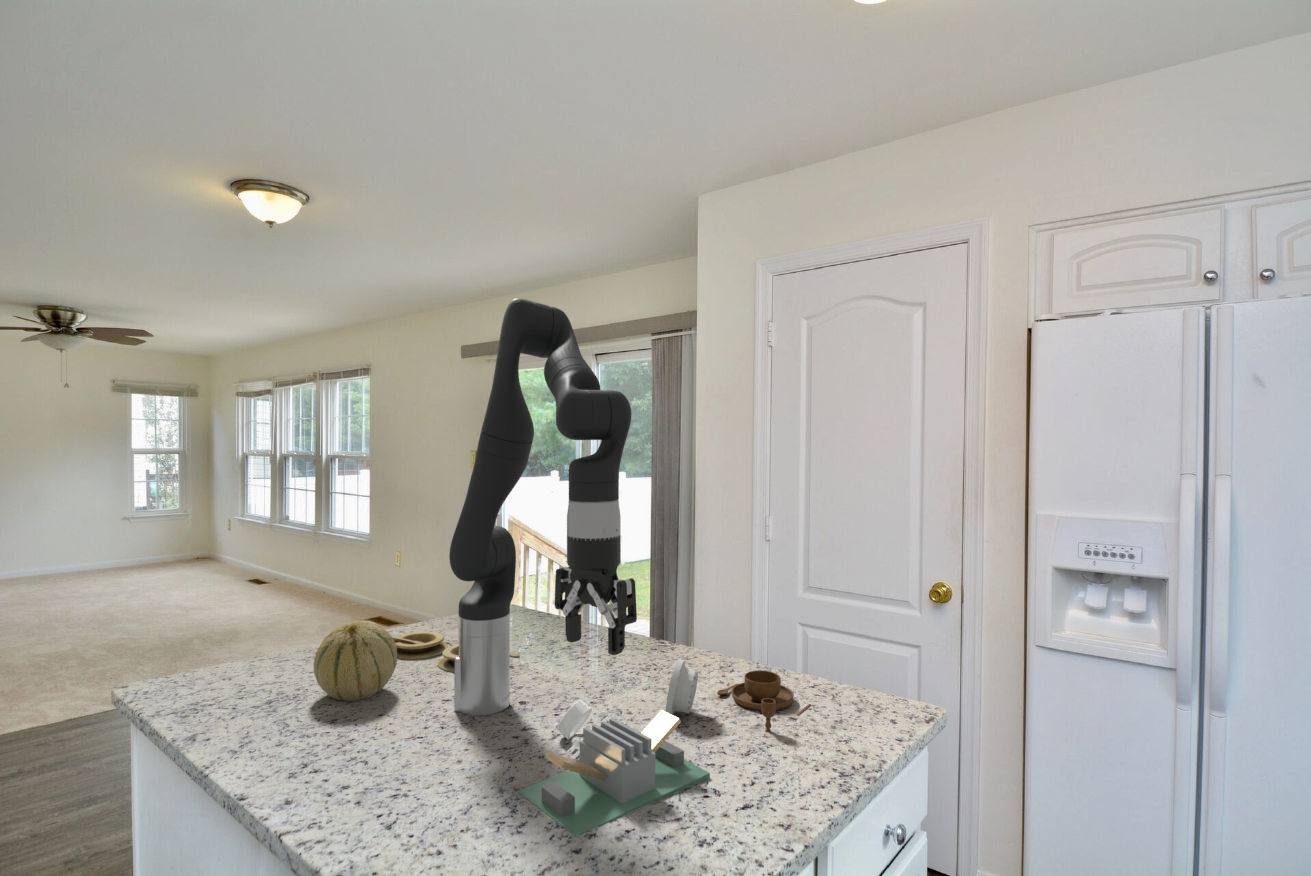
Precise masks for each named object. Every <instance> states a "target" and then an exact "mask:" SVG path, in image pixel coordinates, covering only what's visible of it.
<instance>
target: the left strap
mask: <svg viewBox="0 0 1311 876" xmlns="http://www.w3.org/2000/svg"><path fill="white" fill-rule="evenodd" d="M544 757H545V758H546V759H548V760H549V761H551V762H552V763H553V764H555V765H556V766H558V767H559V768H560V769H563V770H566V771H573V772H576V773H580V774H583V775H586V776H590V777H593V778H597V779H600V780H603V781H604V778H605V776H606V774H604V773H603V772H601V771H599V770H598V769H596V768H595V767H593V766H592V765H590V764H588V763H585V762H581V761H579V759H572V758H570V757H569V756H565V755H562V754H559V753H555V752H552V751H548V750H547V752H546V754H545V756H544Z"/></svg>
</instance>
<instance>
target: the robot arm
mask: <svg viewBox="0 0 1311 876" xmlns="http://www.w3.org/2000/svg"><path fill="white" fill-rule="evenodd" d="M500 329H501V330H500V333H499V334H500V335H499V341H498V348H497V355H496V360H495V368H494V373H493V379H492V383H491V384H492V385H491V390H490V395H489V399H488V402H487V407H486V410H485V413H484V419H483V423H482V427H481V430H480V435H479V438H478V442H477V447H476V453H475V460H474V462H473V468H472V472H471V475H470V478H469V479H470V480H469V484H468V488H467V490H466V491H467V493H466V496H465V500H464V503H463V506H462V509H461V512H460V515H459V518H458V520H457V524H456V527H455V530H454V533H453V534H452V535H453V536H452V539H451V541H450V547H449V555H448V556H449V564H450V568H451V571H452V573H453V574H454V576H455V577H456V578H458V580H461V581H463V582H473V584H472V585H471V587H470V589H469V590H468V592H466V593H465V594H464V595H463V596H462V597H461V598H460V600H459V602H458V642H459V656H458V657H457V658H456V659H455V665H454V666H455V672H454V701H453V702H454V705H453V706H454V707H453V708H454V709H453V710H454V711H455V712H459V713H463V714H464V715H469V716H489V715H490V716H491V715H494V714H498V713H500V712H503V711H504V710H506V709H507V708H508V707H510V706H509V705H510V695H511V693H510V685H511V684H510V676H511V675H510V673H511V671H510V670H511V669H510V668H511V666H510V664H511V663H510V662H511V661H510V660H511V657H510V653H511V650H510V648H511V647H510V646H511V642H510V641H511V640H510V639H511V638H510V637H511V633H510V631H511V630H510V629H511V628H510V626H511V623H510V622H511V619H510V618H511V614H510V613H511V604H512V601H513V598H514V595H515V587H516V585H515V584H516V568H517V566H516V565H517V563H516V562H517V551H516V545H515V540H514V538H513V536H512V534H511V533H510V531H509V530H507V528H505V527H503V526H500V525H496V521H497V518H498V515H499V513H500V510H501V509H502V506H503V504H504V503H505V501H506V499H508V496H509V495H511V492H512V491H513V489H514V488H515V486H516V485H517V483H518V482H519V481H520V480H521V479H520V478H521V477H522V476H523V473H524V472H525V470H526V468H527V465H528V462H529V458H530V454H531V451H532V450H531V449H532V446H533V441H534V436H535V426H534V423H533V419H532V415H531V412H530V410H529V407H528V405H527V401H526V399H525V396H524V394H523V391H522V387H521V383H520V377H519V376H520V374H519V372H520V371H519V370H520V369H519V364H520V358H521V354H522V355H528V356H532V357H536V358H537V357H538V358H542V359H546V362H545V363H544V368H543V369H544V370H543V376H544V380H545V383H546V385H547V387H548V389H549V391H550V392H551V394H552V396H553V398H554V400H555V424H556V428H557V429H558V432H559V433H560V434H561V435H562V436H563V437H565V438H566V439H569V440H574V441H600V444H599V446H598V448H597V450H596V452H594V453H593V454H591V455H586V456H583V457H579V458H575V459H573V460H572V461H571V462H570V463H569V467H568V505H567V513H566V564H567V566H565V567H560V568H557V569H556V570H555V577H554V578H555V582H554V584H555V585H554V608H555V610H560V611H562V614H563V616H565V620H564V621H565V626H564V627H565V638H566V642H569V643H572V644H573V643H576V642H579V641H581V638H582V614H580V612H581V611H582V609H583V607H584V606H585V605H588V604H589V605H590V606H592V607H594V608H597V609H598V611H599V613H600V614H601V615H603V616H604V619H605V620H606V622H607V624H608V626H609V627H607V629H608V630H607V641H608V642H607V643H608V644H607V646H608V647H607V648H608V649H607V653H608V654H609V655H612V656H616V655H619V654H621V653H623V651H624V649H625V646H626V640H625V638H626V631H625V630H626V629H625V628H626V626H627V625H631V624H633V623H636V622H637V620H638V616H637V614H638V613H637V592H636V580H635V579H634V578H633V577H632V578H626V579H621V578H619V577H618V573H617V570H618V567H619V566H620V565H621V563H622V562H621V561H622V560H621V559H622V558H621V557H622V556H621V552H622V551H621V550H622V549H621V546H622V545H621V539H622V538H621V537H622V535H621V527H622V526H621V518H622V517H621V510H620V509H621V508H620V503H619V502H620V501H619V499H620V497H619V496H620V489H619V487H620V486H619V485H620V484H619V483H620V481H619V478H620V474H619V472H620V468H621V467H620V466H621V462H622V456H623V453H624V448H625V445H626V441H627V437H628V434H629V431H630V427H631V424H632V423H631V422H632V408H631V404H630V402H629V400H628V398H627V396H626V395H625V394H623V392H621V391H618V390H608V389H606V390H604V389H603V390H602V389H601V383H600V381H599V379H598V377H597V375H596V374H595V372H594V371H593V370H592V368H591V367H590V365H589V364H588V363H587V362H586V361H587V360H585V359H584V358H583V355H582V353H581V351H580V346H579V344H578V341H577V337H576V335H575V332H574V329H573V326H572V323H571V320H570V318H569V317H568V316H567V314H566V312H564V311H563V310H562V309H560V308H558V307H555V306H551V305H548V304H546V303H545V304H544V303H541V302H538V301H537V302H536V301H534V300H529V299H526V298H519V297H516V298H513V299H512V300H510V302H509V304H508V305H507V307H506V309H505V312H504V314H503V319H502V323H501V328H500ZM563 597H564V599H563ZM610 602H611V603H610ZM608 603H610V604H608Z"/></svg>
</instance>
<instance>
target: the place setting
mask: <svg viewBox="0 0 1311 876" xmlns="http://www.w3.org/2000/svg"><path fill="white" fill-rule="evenodd" d="M781 682H782V679H781V676H780V675H779V674H778V673H775V672H772V671H769V670H751V671H748V672H747V673H745V674H744V682H741V683H735V684H732V685H731V686H729V687H727V688H725V689H724V688H723V689H720V690H718V691H717V692H716V694H717V695H718V696H724V695H727V694H728V693H729V690H731V697H732V699H733V700H734V701H735V703H737V704H738V705H739V706H742V707H743V708H746V709H749V710H752V709H753V710H752V711H758V712H761V715H763V717H764V718H765V720H766V721H765V723H764V726H765V730H764V732H765V733H768V732H770V733H772V730H771V727H772V722H771V718H773V717H774V716H775V714H776V711H781V710H783V709H785V708H788V707H789V706H791V704H792V703H793V702H794V695H795V694H794V693H793V692H794V691H792V689H790V688H788V687H786V686H785V685H782V684H781ZM811 706H812V704H811V703H809V704H807V705H806V706H805V707H804V708H802V709H800V710H799V711H798V712H797V713H796V714H795V716H797V717H799V716H800V715H802V713H803V712H805V711H806V710H808V709H809V708H810V707H811ZM787 719H789V720H793V721H794V720H795V721H796V720H798V718H796V717H794V716H788V717H787Z"/></svg>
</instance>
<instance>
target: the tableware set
mask: <svg viewBox="0 0 1311 876" xmlns="http://www.w3.org/2000/svg"><path fill="white" fill-rule="evenodd" d="M391 637H392V638H393V640H394V642H395V644H396V647H397V660H398V659H399V660H421V659H422V660H423V659H429V658H434V657H436V656H440V655H441V654H442V658H441V659H440V660H439V661H438V663H437V667H438V668H439V669H440V670H441V671H445V672H447V673H449V672H450V673H455V659H456V658H457V657H458V656H459V641H450V640H448V639H445V635H444V634H443V633H440V632H437V631H427V630H426V631H424V630H423V631H414V632H408V633H407V632H406V633H404V634H400V635H398V636H395V635H391ZM448 645H449V646H448ZM510 658H515V659H518V658H520V654H519V653H514V652H510Z"/></svg>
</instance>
